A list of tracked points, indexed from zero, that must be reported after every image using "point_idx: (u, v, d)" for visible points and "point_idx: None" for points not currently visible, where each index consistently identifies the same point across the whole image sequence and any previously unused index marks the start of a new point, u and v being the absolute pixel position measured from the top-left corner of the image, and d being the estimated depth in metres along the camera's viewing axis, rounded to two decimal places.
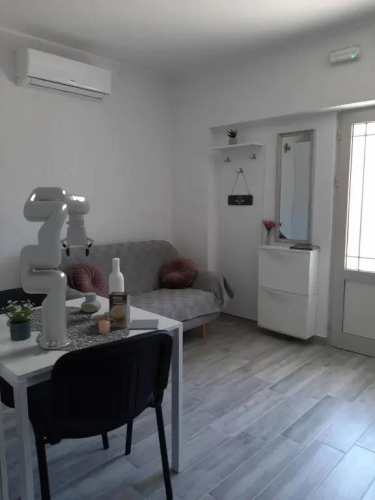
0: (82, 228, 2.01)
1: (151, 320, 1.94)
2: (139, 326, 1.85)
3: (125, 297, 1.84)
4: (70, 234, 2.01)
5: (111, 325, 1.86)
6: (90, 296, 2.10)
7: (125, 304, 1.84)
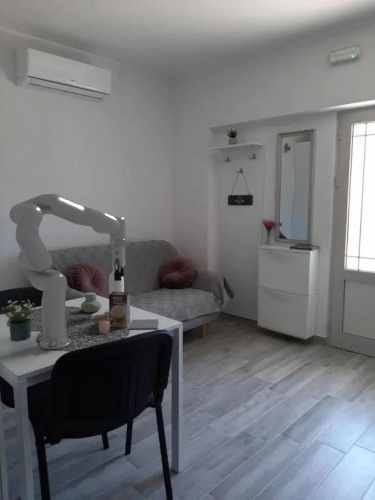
0: None
1: (151, 320, 1.94)
2: (139, 326, 1.85)
3: (125, 297, 1.84)
4: (123, 254, 1.82)
5: (111, 325, 1.86)
6: (90, 296, 2.10)
7: (125, 304, 1.84)
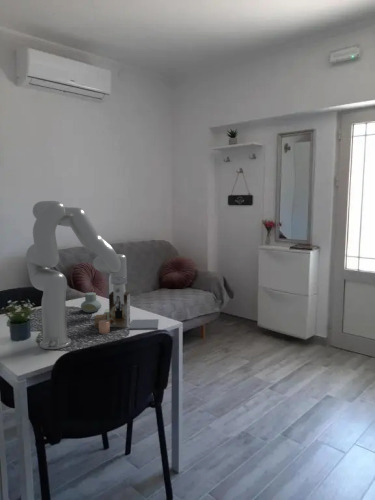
0: None
1: (151, 320, 1.94)
2: (139, 326, 1.85)
3: (125, 297, 1.84)
4: (124, 292, 1.84)
5: (111, 325, 1.86)
6: (90, 296, 2.10)
7: (125, 304, 1.84)
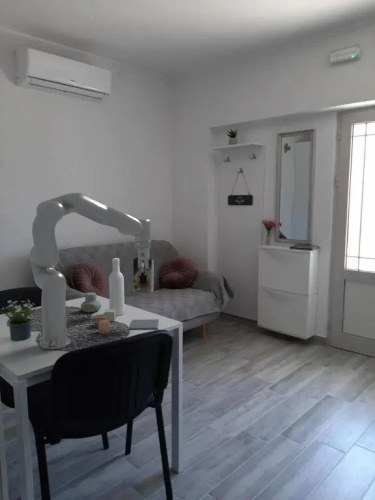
0: None
1: (151, 320, 1.94)
2: (139, 326, 1.85)
3: (150, 262, 1.82)
4: (148, 256, 1.83)
5: (135, 290, 1.85)
6: (90, 296, 2.10)
7: (150, 269, 1.82)
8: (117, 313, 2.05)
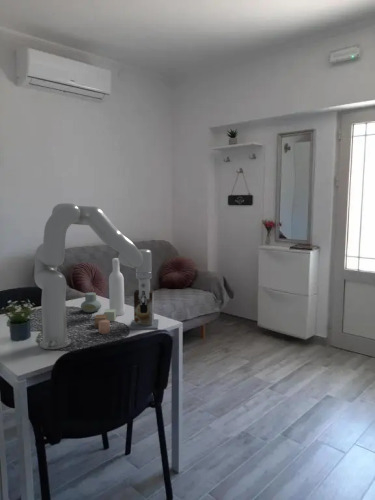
0: None
1: None
2: (139, 326, 1.85)
3: (150, 295, 1.84)
4: (149, 287, 1.85)
5: (136, 323, 1.86)
6: (90, 296, 2.10)
7: (150, 302, 1.85)
8: (117, 313, 2.05)
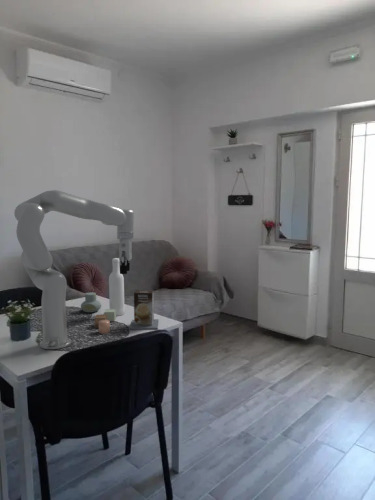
0: None
1: None
2: (139, 326, 1.85)
3: (150, 295, 1.84)
4: (130, 248, 1.80)
5: (136, 323, 1.86)
6: (90, 296, 2.10)
7: (150, 302, 1.85)
8: (117, 313, 2.05)
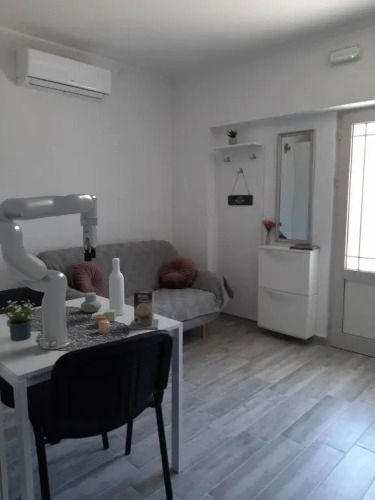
0: None
1: None
2: (139, 326, 1.85)
3: (150, 295, 1.84)
4: (94, 234, 1.74)
5: (136, 323, 1.86)
6: (90, 296, 2.10)
7: (150, 302, 1.85)
8: (117, 313, 2.05)
